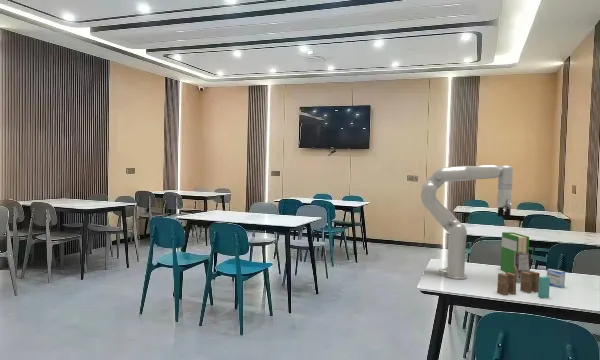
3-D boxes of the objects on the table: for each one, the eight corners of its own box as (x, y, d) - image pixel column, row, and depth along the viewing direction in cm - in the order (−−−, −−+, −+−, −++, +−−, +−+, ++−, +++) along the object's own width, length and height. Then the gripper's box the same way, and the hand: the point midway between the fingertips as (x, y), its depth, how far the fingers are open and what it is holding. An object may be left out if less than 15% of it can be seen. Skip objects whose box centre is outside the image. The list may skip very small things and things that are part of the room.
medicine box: (545, 284, 246) (546, 269, 245) (549, 283, 248) (550, 268, 248) (560, 288, 239) (561, 272, 239) (564, 287, 242) (565, 271, 242)
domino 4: (535, 292, 229) (536, 273, 228) (527, 289, 233) (528, 271, 233) (538, 292, 229) (539, 273, 229) (530, 289, 234) (531, 270, 234)
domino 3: (528, 293, 227) (529, 273, 227) (520, 290, 232) (521, 271, 231) (531, 292, 228) (532, 273, 227) (523, 290, 232) (524, 271, 232)
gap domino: (548, 297, 220) (549, 277, 220) (541, 297, 219) (542, 277, 218) (545, 296, 222) (546, 276, 222) (538, 296, 221) (539, 276, 220)
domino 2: (512, 294, 223) (513, 274, 223) (505, 291, 228) (505, 272, 228) (515, 294, 224) (516, 274, 224) (507, 291, 229) (508, 272, 228)
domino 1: (504, 295, 221) (505, 275, 221) (497, 292, 226) (498, 273, 226) (507, 294, 222) (508, 275, 222) (500, 292, 227) (501, 272, 227)
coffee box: (529, 283, 246) (531, 255, 246) (517, 282, 248) (518, 254, 247) (525, 280, 255) (526, 252, 255) (513, 279, 256) (514, 251, 256)
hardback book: (527, 276, 263) (529, 236, 262) (515, 276, 263) (517, 236, 262) (511, 270, 281) (513, 232, 280) (500, 269, 280) (502, 232, 280)
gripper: (492, 186, 259) (491, 215, 260) (503, 187, 242) (502, 218, 243) (506, 187, 259) (504, 216, 259) (517, 188, 242) (516, 219, 242)
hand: (503, 217), depth 251 cm, fingers open, 9 cm apart
